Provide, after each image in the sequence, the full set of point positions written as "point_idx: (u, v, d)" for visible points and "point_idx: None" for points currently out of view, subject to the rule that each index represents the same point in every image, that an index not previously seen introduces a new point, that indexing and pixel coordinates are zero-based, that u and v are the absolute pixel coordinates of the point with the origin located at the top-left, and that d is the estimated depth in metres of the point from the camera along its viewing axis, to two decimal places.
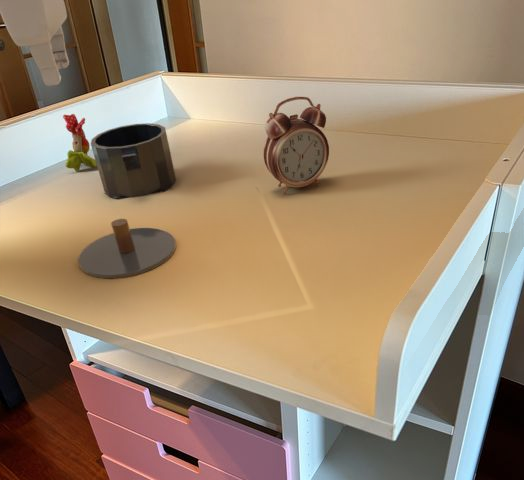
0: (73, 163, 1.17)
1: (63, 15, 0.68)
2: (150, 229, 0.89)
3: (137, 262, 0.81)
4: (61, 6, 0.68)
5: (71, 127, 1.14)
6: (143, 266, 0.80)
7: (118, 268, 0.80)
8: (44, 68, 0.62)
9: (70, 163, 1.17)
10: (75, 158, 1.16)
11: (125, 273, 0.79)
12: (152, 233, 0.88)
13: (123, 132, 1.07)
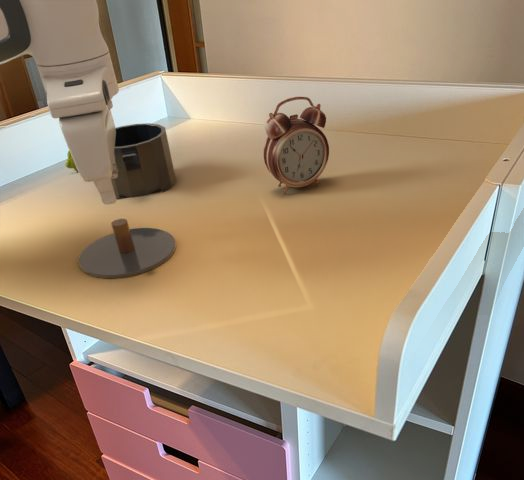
0: (73, 163, 1.17)
1: (114, 136, 0.79)
2: (150, 229, 0.89)
3: (137, 262, 0.81)
4: (113, 128, 0.79)
5: None
6: (143, 266, 0.80)
7: (118, 268, 0.80)
8: (103, 191, 0.73)
9: (70, 163, 1.17)
10: None
11: (125, 273, 0.79)
12: (152, 233, 0.88)
13: (123, 132, 1.07)
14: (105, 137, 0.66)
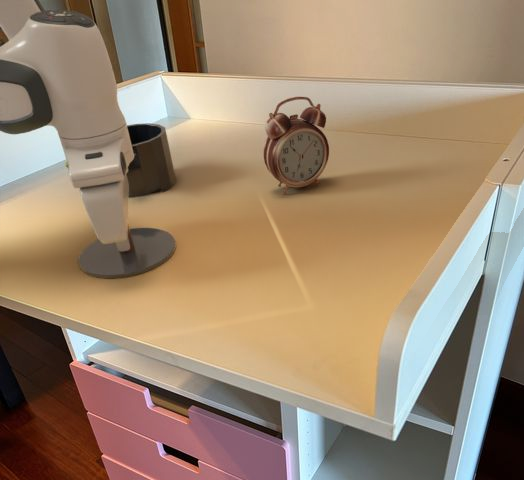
0: None
1: (128, 193, 0.85)
2: (150, 229, 0.89)
3: (137, 262, 0.81)
4: (126, 186, 0.85)
5: None
6: (143, 266, 0.80)
7: (118, 267, 0.80)
8: None
9: None
10: None
11: (125, 273, 0.79)
12: (152, 233, 0.88)
13: None
14: (122, 205, 0.71)
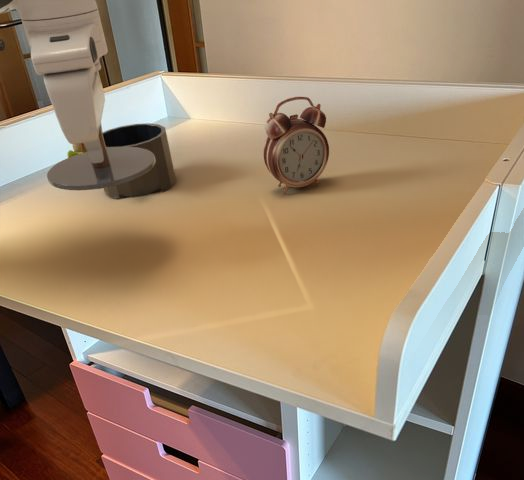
0: None
1: (103, 102, 0.77)
2: (128, 147, 0.81)
3: (112, 174, 0.73)
4: (101, 94, 0.77)
5: None
6: (118, 178, 0.72)
7: (90, 180, 0.72)
8: (91, 149, 0.73)
9: None
10: None
11: (97, 184, 0.71)
12: (130, 151, 0.80)
13: (123, 132, 1.07)
14: (91, 96, 0.63)
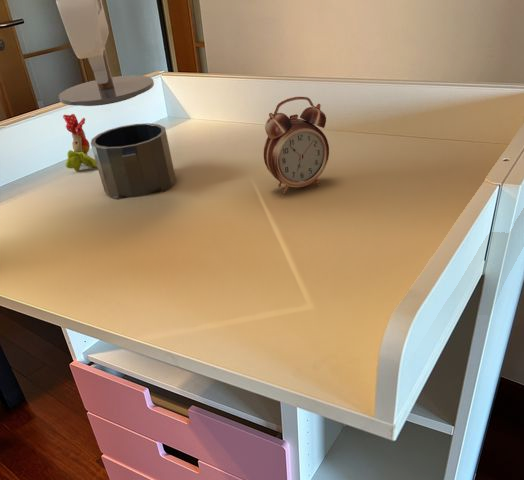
0: (73, 163, 1.17)
1: (107, 32, 0.87)
2: (130, 76, 0.91)
3: (115, 92, 0.83)
4: (105, 25, 0.87)
5: (71, 127, 1.14)
6: (120, 94, 0.82)
7: (96, 97, 0.82)
8: (97, 71, 0.83)
9: (70, 163, 1.17)
10: (75, 158, 1.16)
11: (102, 99, 0.81)
12: (132, 77, 0.90)
13: (123, 132, 1.07)
14: (96, 14, 0.73)
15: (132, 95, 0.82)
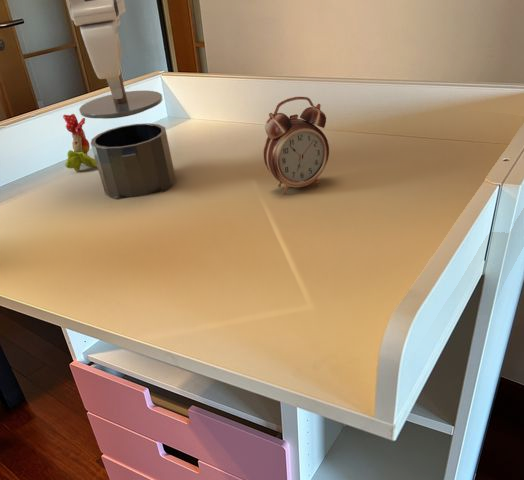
0: (73, 163, 1.17)
1: (121, 54, 0.99)
2: (141, 91, 1.04)
3: (129, 107, 0.95)
4: (120, 47, 0.99)
5: (71, 127, 1.14)
6: (134, 108, 0.94)
7: (113, 110, 0.95)
8: (113, 88, 0.95)
9: (70, 163, 1.17)
10: (75, 158, 1.16)
11: (118, 112, 0.93)
12: (142, 92, 1.02)
13: (123, 132, 1.07)
14: (115, 41, 0.85)
15: (144, 109, 0.95)
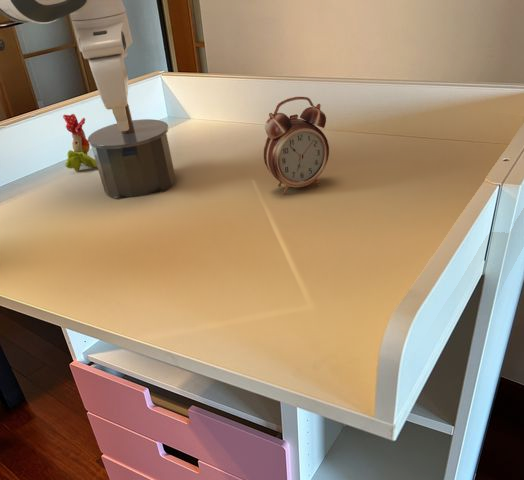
0: (73, 163, 1.17)
1: (127, 82, 1.02)
2: (147, 120, 1.07)
3: (136, 137, 0.98)
4: (126, 76, 1.02)
5: (71, 127, 1.14)
6: (141, 139, 0.97)
7: (121, 141, 0.98)
8: (119, 120, 0.95)
9: (70, 163, 1.17)
10: (75, 158, 1.16)
11: (126, 143, 0.96)
12: (149, 122, 1.05)
13: None
14: (123, 74, 0.88)
15: (151, 140, 0.98)
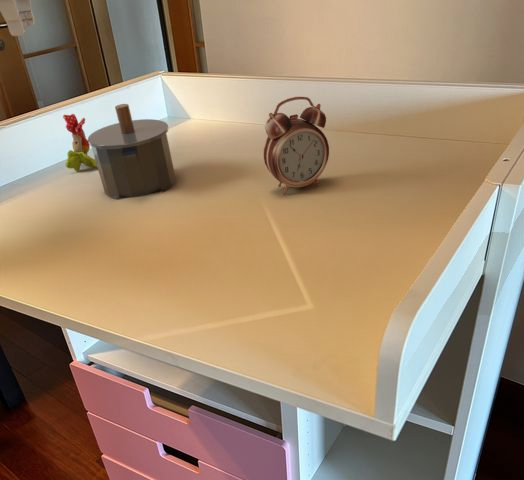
0: (73, 163, 1.17)
1: None
2: (147, 120, 1.07)
3: (136, 137, 0.98)
4: None
5: (71, 127, 1.14)
6: (141, 139, 0.97)
7: (121, 141, 0.98)
8: (10, 21, 0.75)
9: (70, 163, 1.17)
10: (75, 158, 1.16)
11: (126, 143, 0.96)
12: (149, 122, 1.05)
13: None
14: None
15: (151, 140, 0.98)
